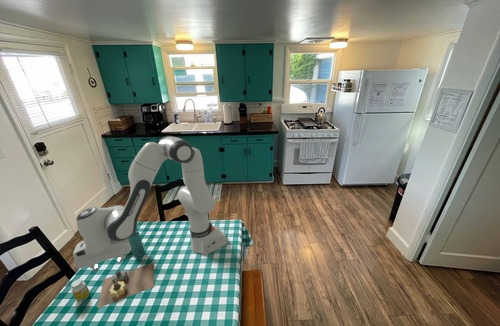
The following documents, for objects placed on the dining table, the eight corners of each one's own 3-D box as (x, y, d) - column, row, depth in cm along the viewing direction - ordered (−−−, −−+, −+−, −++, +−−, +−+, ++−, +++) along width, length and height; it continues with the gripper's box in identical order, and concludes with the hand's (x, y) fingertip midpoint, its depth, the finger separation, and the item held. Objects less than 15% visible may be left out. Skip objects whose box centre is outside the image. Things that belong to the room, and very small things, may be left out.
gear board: (154, 264, 115) (152, 255, 112) (155, 288, 101) (152, 279, 99) (104, 281, 106) (100, 272, 103) (98, 310, 92) (93, 301, 90)
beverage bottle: (140, 260, 117) (132, 233, 110) (130, 258, 119) (121, 231, 111) (148, 251, 123) (140, 225, 115) (138, 250, 125) (130, 224, 117)
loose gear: (127, 283, 103) (125, 279, 102) (125, 294, 97) (124, 290, 96) (112, 288, 100) (110, 284, 99) (110, 300, 95) (108, 296, 94)
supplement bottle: (92, 292, 100) (86, 278, 97) (82, 303, 95) (75, 289, 92) (84, 290, 101) (77, 276, 98) (73, 300, 97) (66, 286, 93)
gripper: (127, 230, 93) (134, 252, 99) (72, 245, 86) (83, 268, 91) (126, 239, 88) (134, 262, 94) (67, 256, 80) (79, 280, 86)
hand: (108, 265), depth 92 cm, fingers open, 8 cm apart
